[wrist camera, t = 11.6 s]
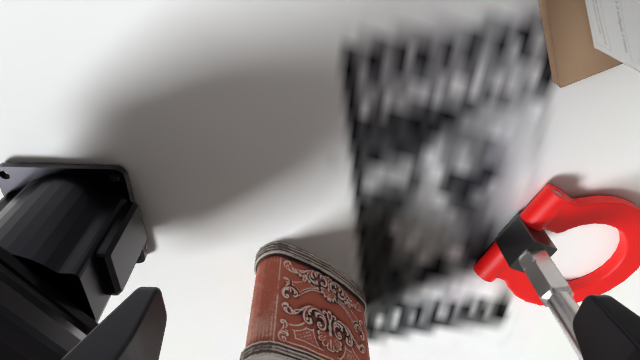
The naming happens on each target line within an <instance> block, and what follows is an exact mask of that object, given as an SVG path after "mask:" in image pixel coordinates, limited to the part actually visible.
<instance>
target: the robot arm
mask: <svg viewBox="0 0 640 360" xmlns="http://www.w3.org/2000/svg"><path fill="white" fill-rule="evenodd" d="M4 171H6V172H7V173H8V174H9V175H8V174H6V173H5V172H4ZM113 173H114V174H117V175H119V177H116V176H114V175H113ZM0 188H1V191H2V193H3V195H4V197H3V198H2V199H1V200H0V360H159V355H160V350H161V346H162V341H163V336H164V332H165V327H166V320H167V314H166V309H165V305H164V301H163V297H162V293H161V290H160V289H159V288H157V287H140V288H138V289H136V290H135V291H134V292H133V293H132V294H131V295H130V296H129V297H128V298H126V299H125V300H124V301H123V302H122V303H121V304H120V305H119V306H118V307H117V308H116V309H115V310H114V311H113V312H111V313H110V314H109V315H108V316H107V317H106V318H105V319H104V320H103V321H102V322H101V323H100V324H99V323H98V321H99V319H100V317H101V315H102V313H103V311H104V309H105V307H106V305H107V303H108V301H109V299H110V297H111V295H119V294H120V293H121V292H122V291H123V289H124V287H125V285H126V283H127V281H128V279H129V277H130V275H131V272H132V270H133V268H134V266H135V264H136V263H142V262H144V260H145V258H146V256H147V249H146V245H145V243H146V241H147V236H146V232H145V228H144V224H143V220H142V216H141V212H140V208H139V205H138V204H137V203H136V202H135V201H134V197H133V193H132V189H131V185H130V181H129V177H128V173H127V171H126V170H125V169H124V168H123V167H121V166H118V165H89V164H46V163H1V164H0ZM573 331H574V334H575V337H576V340H577V343H578V346H579V349H580V352H581V355H582V358H583V360H640V317H639V316H638V315H637V314H635V313H634V312H632V311H631V310H629V309H628V308H627V307H625V306H624V305H622V304H621V303H620V302H618V301H617V300H615V299H614V298H612V297H611V296H608V295H588V296H586V297H585V298H584V300H583V302H582V304H581V306H580V307H579V309H578V311H577V313H576V315H575V317H574V319H573Z"/></svg>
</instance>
